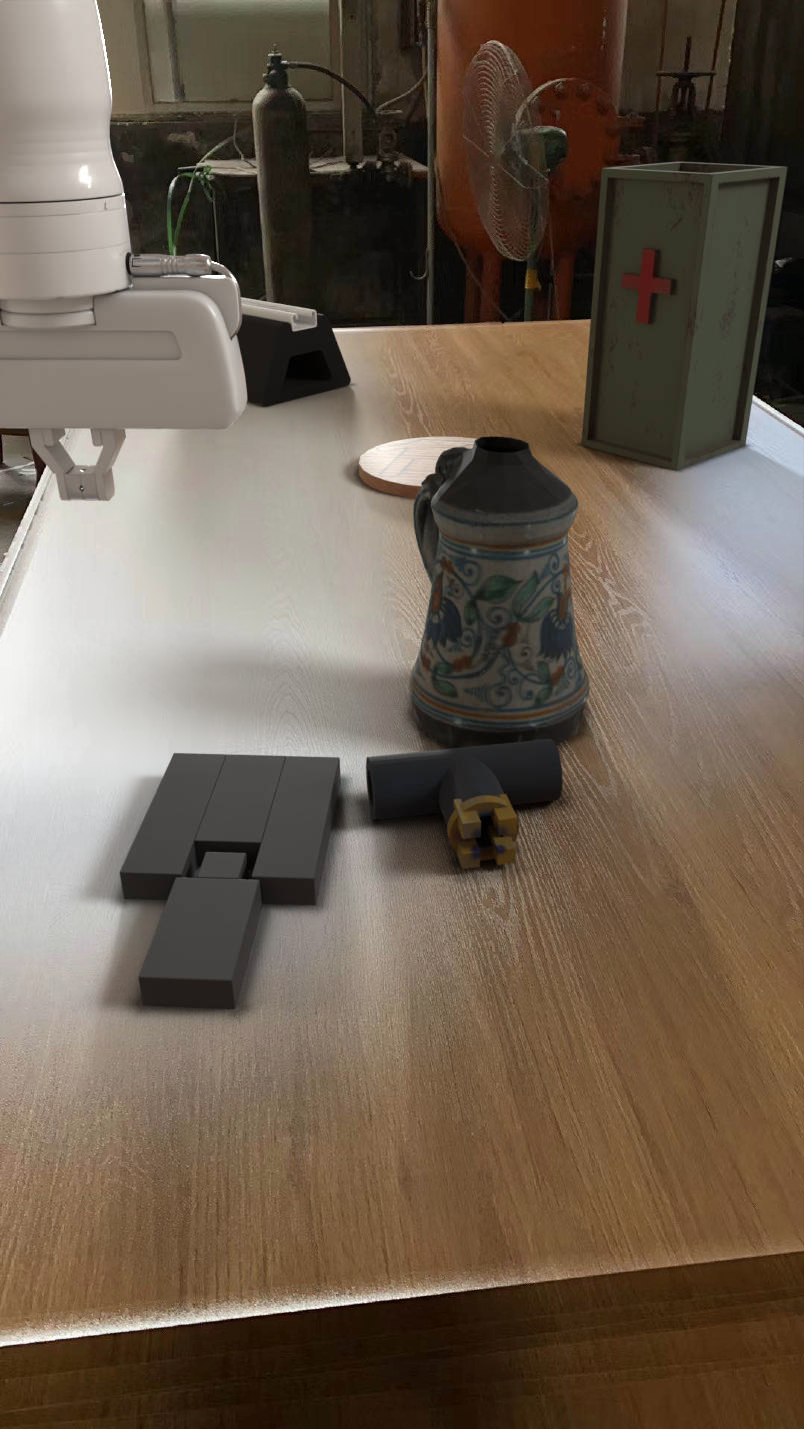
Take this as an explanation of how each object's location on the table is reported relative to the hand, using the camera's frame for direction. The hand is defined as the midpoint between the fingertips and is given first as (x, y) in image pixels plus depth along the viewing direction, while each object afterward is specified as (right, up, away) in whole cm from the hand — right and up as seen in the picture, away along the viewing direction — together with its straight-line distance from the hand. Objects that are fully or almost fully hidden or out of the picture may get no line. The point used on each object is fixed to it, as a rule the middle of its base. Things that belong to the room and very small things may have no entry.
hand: (88, 498), depth 66 cm
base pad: (+7, -23, +19) cm, 30 cm away
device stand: (-7, +50, +145) cm, 154 cm away
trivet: (+25, +23, +97) cm, 103 cm away
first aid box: (+61, +30, +108) cm, 128 cm away
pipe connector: (+25, -22, +19) cm, 38 cm away
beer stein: (+27, -13, +36) cm, 46 cm away
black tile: (+6, -29, +8) cm, 30 cm away
